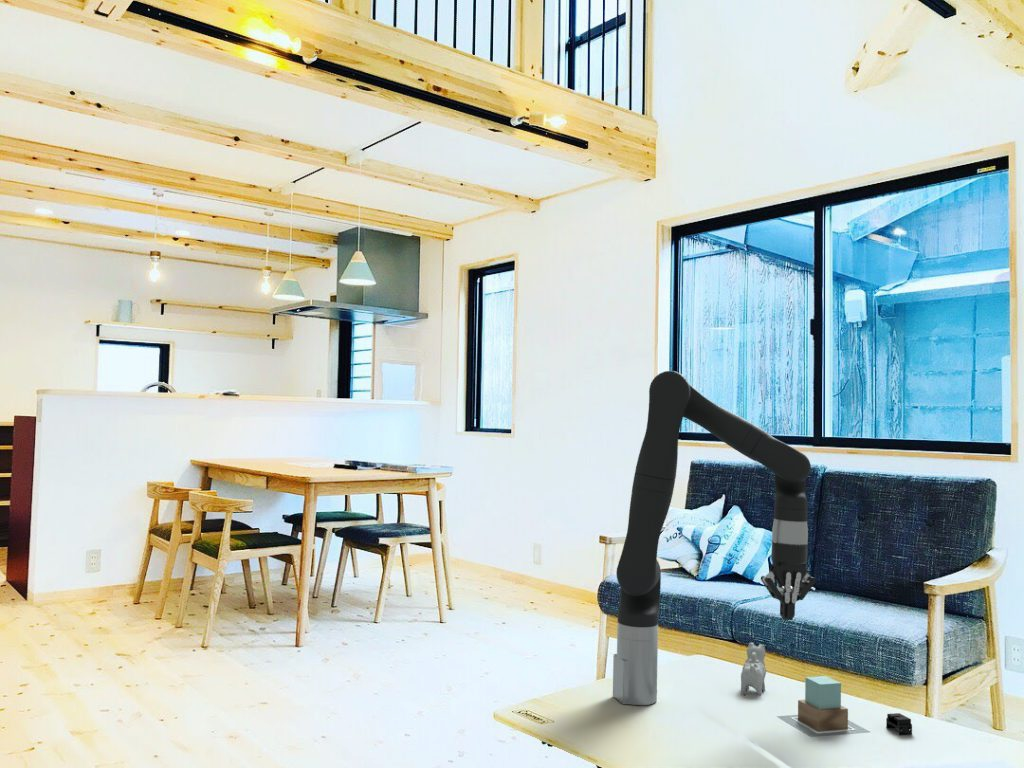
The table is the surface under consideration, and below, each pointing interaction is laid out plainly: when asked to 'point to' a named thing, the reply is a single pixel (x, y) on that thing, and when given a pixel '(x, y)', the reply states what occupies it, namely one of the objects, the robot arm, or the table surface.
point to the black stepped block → (899, 723)
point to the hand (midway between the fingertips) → (786, 619)
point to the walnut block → (822, 717)
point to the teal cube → (823, 692)
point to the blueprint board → (814, 733)
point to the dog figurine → (754, 669)
